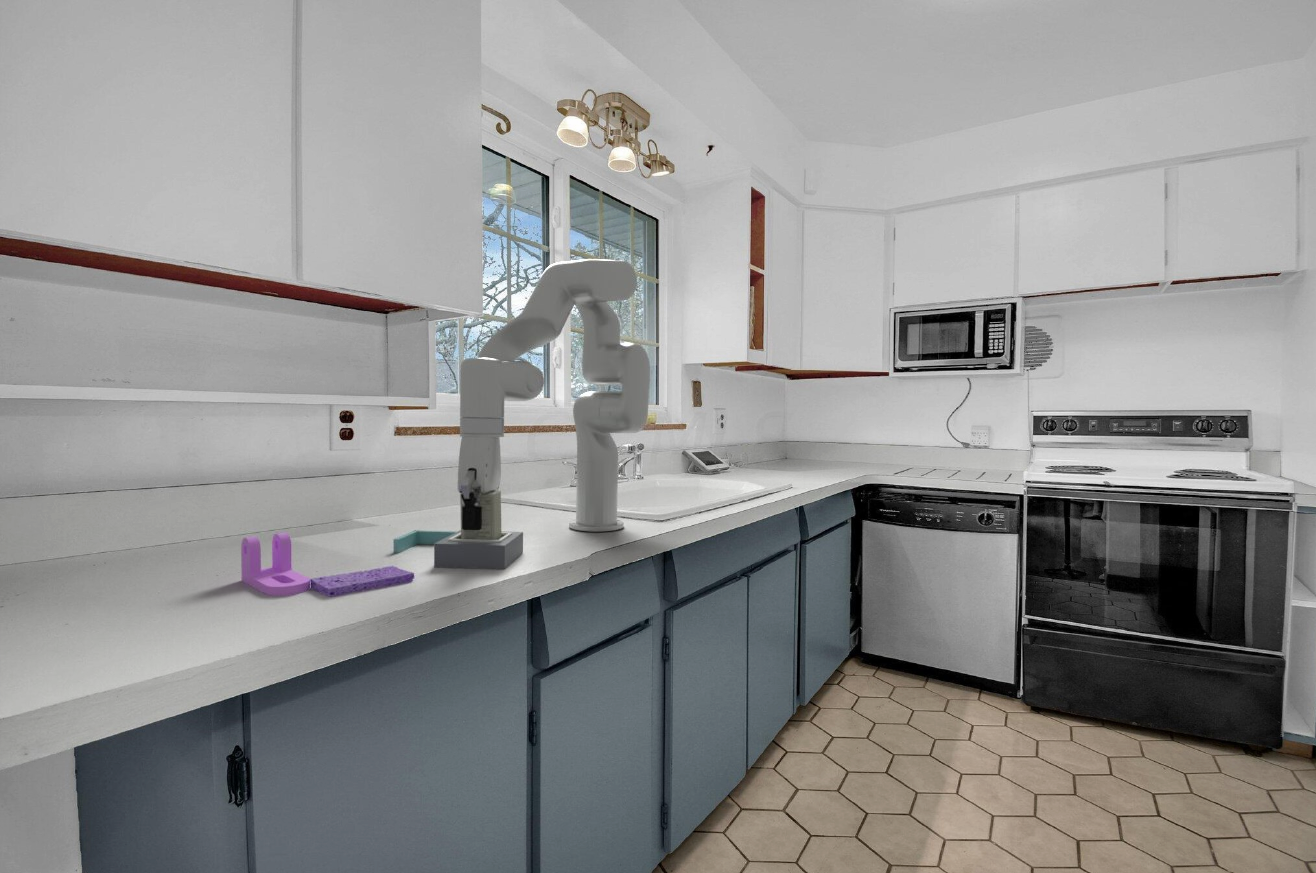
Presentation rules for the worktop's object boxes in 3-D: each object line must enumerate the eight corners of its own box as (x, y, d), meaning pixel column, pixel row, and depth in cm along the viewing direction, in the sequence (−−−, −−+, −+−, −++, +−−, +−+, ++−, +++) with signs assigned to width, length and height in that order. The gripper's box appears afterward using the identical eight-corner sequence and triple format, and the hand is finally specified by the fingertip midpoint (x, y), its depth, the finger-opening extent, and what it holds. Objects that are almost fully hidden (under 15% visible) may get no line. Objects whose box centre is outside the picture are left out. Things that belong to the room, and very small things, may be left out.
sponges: (309, 591, 90) (309, 578, 90) (394, 575, 99) (394, 564, 99) (328, 601, 85) (328, 588, 85) (415, 584, 95) (415, 572, 95)
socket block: (459, 551, 115) (460, 528, 115) (523, 553, 114) (523, 530, 114) (434, 567, 103) (434, 541, 103) (504, 569, 102) (504, 543, 102)
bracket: (241, 581, 93) (241, 536, 92) (282, 574, 97) (282, 531, 97) (273, 599, 85) (273, 549, 84) (316, 590, 89) (316, 543, 89)
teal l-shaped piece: (414, 542, 122) (414, 530, 122) (469, 544, 121) (469, 531, 121) (393, 552, 113) (393, 539, 113) (452, 554, 112) (452, 540, 112)
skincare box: (502, 557, 111) (502, 490, 110) (494, 563, 106) (495, 494, 106) (468, 556, 111) (468, 489, 111) (459, 562, 107) (459, 493, 106)
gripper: (477, 427, 117) (476, 516, 117) (442, 429, 99) (441, 533, 100) (516, 427, 116) (515, 517, 117) (487, 429, 99) (486, 534, 100)
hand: (481, 524), depth 108 cm, fingers open, 9 cm apart
